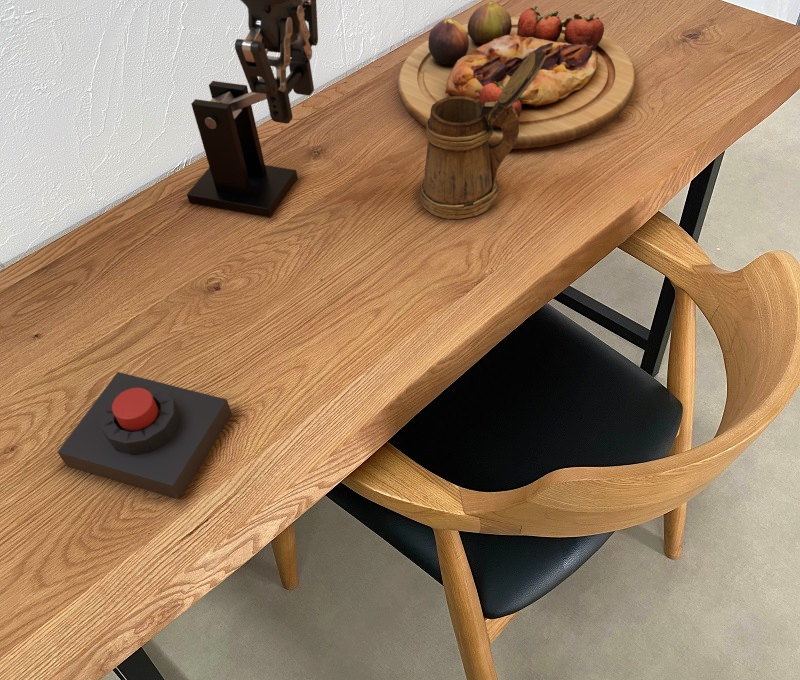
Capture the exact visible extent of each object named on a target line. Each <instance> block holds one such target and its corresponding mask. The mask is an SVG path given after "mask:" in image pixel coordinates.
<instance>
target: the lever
mask: <svg viewBox="0 0 800 680" xmlns="http://www.w3.org/2000/svg"><path fill="white" fill-rule="evenodd" d="M303 76H304V71H303V69H302V68H301V67H295V68H294V69H293V70H292V72H291V73H290V72H289V74H288V75H286V88H287V89H288V94H290V93H291V92H292V91H293V88H294V87H295V86H296V85H297V83H298V82H299V81H300V80H301V78H302V77H303ZM265 100H267V97H266V94H263V93H253V92H251V91H248V93H247V94H244V95H242V96H239V97H237V98H234V97H233V95H232V94H231V92H227V93H225V94H222V95H220V96H217V97H215V98H213V99H212V98H211V99H210V101H212V102H219V103H226V104H231V108H232V112H233V116H234V119H235V118H236V117H237V116H238V114H239V113H240V112H241V111H242V108H244V107H247V106H250V105H251V106H252V105H255V104H258V103H260V102H262V101H265Z"/></svg>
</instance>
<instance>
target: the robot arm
mask: <svg viewBox="0 0 800 680" xmlns="http://www.w3.org/2000/svg"><path fill="white" fill-rule="evenodd" d="M240 2H241V3H243V4H244V6H245V7H246V8H247V13H248V17H247V18H248V22H247V25H248V30H249V32H248V34H247V35H246V36H245V39H243V38H237V39H236V40H235V42H234V50H235V52H236V55H237V58H238V61H239V63H240V66H241V68H242V71H243V74H244V77H245V79H246V81H247V83H248V87H249V89H250V92H253V93H263V94H266V97H267V99H266V100H267V105H268V111H269V115H270V117H271V120H272V122H275V123H281V124H287V125H288V124H289V123H290V122H291V121H292V120H293V117H294V116H293V112H292V111H293V110H292V105H291V101H290V96H289V94H290V93H289V94H288V89H287V88H286V78H287V68H288V67H289V74H290V73H291V72H292V70H293V69H294V68H295V67H301V68H302V69H303V71H304V76H303V77H302V78H301V80H300V81H299V82H298V83H297V85H296V86H295V87H294V88H293V89H292V91H293V92H294V93H295V94H297V95H303V96H308V97H309V96H311V95H312V94H313V93H314V92H315V86H314V79H313V73H312V68H311V67H312V66H311V61H310V60H311V59H312V58H313V49H312V47H313V46H314V47H316V46H317V45H318V42H319V29H318V28H319V27H318V9H317V0H240ZM269 52H270V53H276V54H277V53H279V56H273V55H268V53H269ZM272 67H274V68H275V70H276V72H275V73H276V77H275V75H274V72H273V68H272Z"/></svg>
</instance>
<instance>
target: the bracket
mask: <svg viewBox="0 0 800 680" xmlns="http://www.w3.org/2000/svg"><path fill="white" fill-rule="evenodd" d="M208 89H209V91H210V95H211V100H212V99H213V98H215V97H217V96H220V95H222V94H225V93H227V92H231V94H232V95H233V97H234V98H237V97H239V96H242V95H244V94H247V93H249V89H248V85H246V84H238V83H232V82H225V81H218V80H212V81H211V82H210V83H209V84H208ZM211 100H205V99H198V98H195V99H194V100H193V101H192V102H191V108H192V112H193V115H194V119H195V121H196V125H197V129H198V132H199V136H200V139H201V143H202V146H203V149H204V153H205V156H206V160H207V164H208V166H209V167H208V168H207V169H206V171H204V173H203V174H202V175H201V177H200V178H199V179H198V180H197V181H196V183H195V184H194V185H193V186H192V187H191V189H190V190H189V191H188V193H187V194H186V197H187V199H188V203H189V204H192V205H197V206H204V207H209V208H215V209H220V210H224V211H225V210H227V211H230V212H231V211H232V212H237V213H240V214H241V213H242V214H247V215H251V216H253V215H254V216H258V217H265V218H268V219H269V218H272V216H273V214H274V213H275V211H276V210H277V209H278V207H279V206H280V205H281V203H282V202H283V200H284V199H285V198H286V196H287V195H288V194H289V192H290V191H291V189H292V187H293V186H294V185H295V183H297V181H298V179H299V177H298V173H297V170H296V169H292V168H286V167H280V166H273V165H267V164H266V163H265V160H264V155H263V150H262V145H261V142H260V137H259V133H258V127H257V124H256V119H255V115H254V111H253V106H252V105H250V106H247V107H244V108H242V111H241V112H240V113H239V114H238V116H237V117H236V118H235V119H234V116H233V112H232V108H231V104H226V103H219V102H212V101H211Z"/></svg>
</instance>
